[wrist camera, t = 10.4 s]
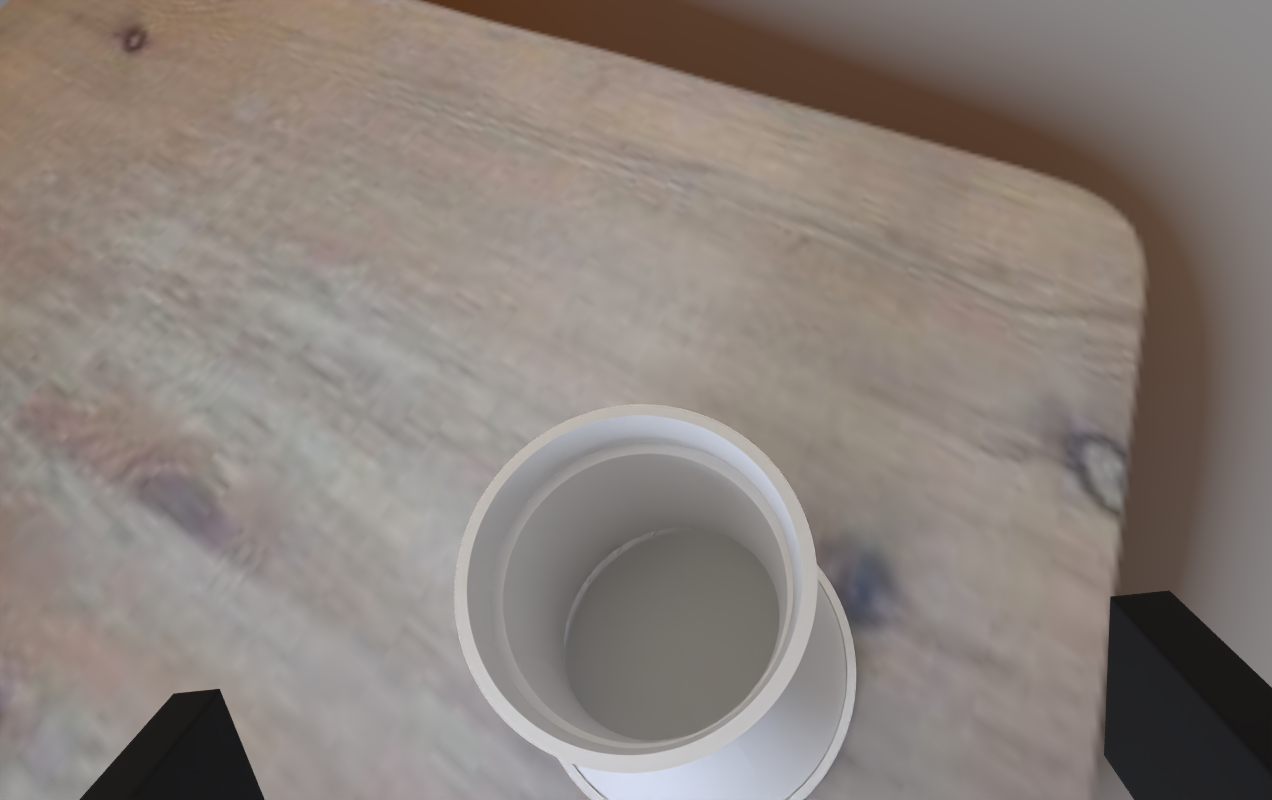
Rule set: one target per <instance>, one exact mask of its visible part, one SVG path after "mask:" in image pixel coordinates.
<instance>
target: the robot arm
mask: <svg viewBox="0 0 1272 800" xmlns="http://www.w3.org/2000/svg"><path fill="white" fill-rule="evenodd" d="M1104 756H1105V757H1106V758H1107V760H1108V762H1109V763H1110V764H1111V766H1112V767H1113V769H1114V770H1115V772H1116V773H1117V775H1118V776H1119V778H1120V779H1121V781H1122V782H1123V784H1124V785H1125V787H1126V788H1127V790H1128V791H1129V793H1130V794H1131V796H1132V797H1133V799H1134V800H1272V688H1271V687H1270V686H1269V685H1268V684H1267V683H1266V682H1265V681H1264V680H1263V679H1262V678H1261V677H1260V676H1259V675H1258V674H1257V673H1256V672H1255V671H1253V670H1252V669H1251V668H1250V667H1249V666H1248V665H1247V664H1246V663H1245V662H1244V661H1243V660H1242V659H1241V658H1240V657H1239V656H1238V655H1237V654H1236V653H1235V652H1233V651H1232V650H1231V649H1230V648H1229V647H1228V646H1227V645H1226V644H1225V643H1224V642H1223V641H1222V640H1221V639H1220V638H1218V636H1217V635H1216V634H1215V633H1213V632H1212V631H1211V630H1210V629H1209V628H1208V627H1207V626H1206V625H1205V624H1204V623H1203V622H1202V621H1201V620H1200V619H1199V618H1198V617H1197V616H1195V615H1194V614H1193V613H1192V612H1191V611H1190V610H1189V609H1188V608H1187V607H1186V606H1185V605H1184V604H1183V603H1182V602H1181V601H1180V600H1179V599H1178V598H1177V597H1176V596H1175V595H1173V594H1172V593H1171V592H1170V591H1161V592H1152V593H1142V594H1132V595H1123V596H1113V597H1111V598H1110V622H1109V647H1108V671H1107V696H1106V721H1105V745H1104ZM80 800H264V797H263V795H262V792H261V790H260V787H259V785H258V782H257V780H256V777H255V775H254V773H253V770H252V768H251V765H250V763H249V760H248V758H247V755H246V753H245V750H244V748H243V745H242V743H241V741H240V738H239V736H238V733H237V731H236V728H235V726H234V723H233V721H232V718H231V716H230V713H229V711H228V708H227V706H226V704H225V701H224V699H223V696H222V694H221V691H220V689H214V690H205V691H195V692H185V693H176V694H173V695H172V696H171V697H170V698H169V699H168V701H167V702H166V703H165V704H164V705H163V706H162V707H161V708H160V710H159V711H158V712H157V713H156V714H155V715H154V716H153V717H152V719H151V720H150V721H149V722H148V723H147V724H146V725H145V726H144V728H143V729H142V730H141V731H140V732H139V733H138V734H137V736H136V737H135V738H134V739H133V740H132V741H131V742H130V743H129V745H128V746H127V747H126V748H125V749H124V750H123V751H122V752H121V754H120V755H119V756H118V757H117V758H116V759H115V760H114V761H113V763H112V764H111V765H110V766H109V767H108V768H107V769H106V770H105V772H104V773H103V774H102V775H101V776H100V777H99V778H98V779H97V781H96V782H95V783H94V784H93V785H92V786H91V787H90V788H89V790H88V791H87V792H86V793H85V794H84V795H83V796H82V797H81V799H80Z"/></svg>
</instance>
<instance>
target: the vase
mask: <svg viewBox="0 0 1272 800" xmlns="http://www.w3.org/2000/svg"><path fill="white" fill-rule="evenodd" d="M657 442H658V443H657ZM624 444H625V445H624ZM581 458H582V459H581ZM579 459H580V460H579ZM538 489H539V490H538ZM537 490H538V491H537ZM528 500H529V501H528ZM491 588H492V589H491ZM454 609H455V619H456V626H457V631H458V636H459V640H460V644H461V647H462V651H463V654H464V657H465V659H466V662H467V664H468V667H469V669H470V671H471V673H472V676H473V678H474V680H475V681H476V683H477V685H478V687H479V688H480V690H481V692H482V693H483V695H484V696H485V698H486V699H487V701H488V702H489V703H490V705H491V706H492V707H493V709H494V710H495V711H496V712H497V713H498V714H499V716H500V717H501V718H502V719H503V720H504V721H505V722H506V723H507V724H508V725H509V726H510V727H511V728H512V729H514V730H515V731H516V732H517V733H518V734H519V735H521V736H522V737H523V738H525V739H526V740H527V741H529V742H530V743H532V744H533V745H535V746H536V747H538V748H540V749H541V750H543V751H545V752H547V753H549V754H550V755H553V756H555V757H557V758H558V759H559V761H560V763H561V764H562V766H563V767H564V769H565V770H566V772H567V773H568V775H569V776H570V777H571V779H572V780H573V781H574V782H575V784H576V785H577V786H578V787H579V788H580V789H581V790H582V791H583V792H584V794H585V795H586V796H587V797H589V798H590V799H591V800H804V799H805V798H806V797H807V796H808V795H809V794H810V793H811V792H812V791H813V789H814V788H815V787H816V786H817V785H818V784H819V782H820V781H821V780H822V778H823V777H824V776H825V774H826V773H827V771H828V770H829V768H830V767H831V765H832V763H833V762H834V760H835V758H836V756H837V754H838V752H839V750H840V748H841V746H842V744H843V741H844V739H845V736H846V733H847V730H848V727H849V724H850V720H851V716H852V712H853V707H854V700H855V692H856V659H855V650H854V644H853V639H852V634H851V631H850V627H849V623H848V620H847V617H846V615H845V612H844V609H843V607H842V604H841V602H840V600H839V598H838V596H837V594H836V592H835V590H834V588H833V587H832V585H831V583H830V582H829V580H828V579H827V577H826V576H825V574H824V573H823V571H822V570H821V569H820V567H819V566H818V565H817V562H816V555H815V549H814V543H813V539H812V535H811V532H810V528H809V525H808V522H807V519H806V516H805V514H804V512H803V509H802V507H801V505H800V503H799V501H798V499H797V497H796V495H795V493H794V491H793V490H792V488H791V486H790V485H789V483H788V482H787V480H786V479H785V477H784V476H783V475H782V473H781V472H780V471H779V469H778V468H777V467H776V466H775V465H774V463H773V462H772V461H771V460H770V459H769V458H768V457H767V456H766V455H765V454H764V453H763V452H762V451H761V450H760V449H759V448H758V447H756V446H755V445H754V444H753V443H752V442H750V441H749V440H748V439H747V438H745V437H744V436H742V435H741V434H740V433H738V432H736V431H735V430H733V429H732V428H730V427H728V426H726V425H724V424H722V423H720V422H719V421H716V420H714V419H712V418H710V417H707V416H705V415H702V414H699V413H696V412H693V411H689V410H685V409H681V408H676V407H671V406H664V405H653V404H632V405H620V406H613V407H608V408H603V409H599V410H595V411H591V412H588V413H585V414H582V415H579V416H577V417H574V418H571V419H569V420H567V421H565V422H563V423H561V424H559V425H557V426H555V427H553V428H551V429H549V430H548V431H546V432H545V433H543V434H541V435H540V436H538V437H537V438H535V439H534V440H533V441H531V442H530V443H529V444H527V445H526V446H525V447H524V448H523V449H521V450H520V451H519V452H518V453H517V454H516V455H515V456H514V457H513V458H512V459H511V460H510V461H509V462H508V463H507V464H506V465H505V466H504V467H503V468H502V469H501V470H500V472H499V473H498V474H497V475H496V476H495V478H494V479H493V480H492V482H491V483H490V484H489V486H488V487H487V489H486V490H485V492H484V493H483V495H482V497H481V498H480V500H479V502H478V504H477V505H476V507H475V509H474V511H473V513H472V516H471V518H470V520H469V522H468V525H467V527H466V530H465V533H464V536H463V539H462V542H461V546H460V550H459V554H458V559H457V564H456V571H455V581H454ZM495 644H496V645H495Z"/></svg>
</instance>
